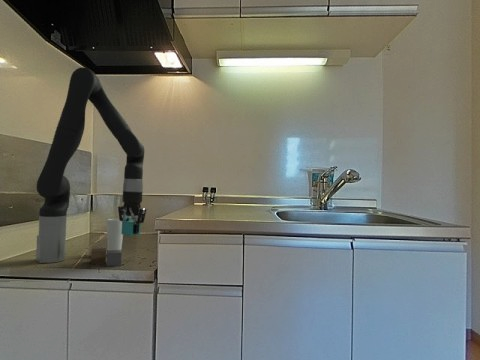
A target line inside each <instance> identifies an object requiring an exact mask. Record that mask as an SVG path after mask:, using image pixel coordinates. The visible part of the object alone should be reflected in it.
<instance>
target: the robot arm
mask: <svg viewBox="0 0 480 360" xmlns="http://www.w3.org/2000/svg"><path fill="white" fill-rule="evenodd" d="M88 101H90V103H91V104H92V105H93V106H94V108H95V109H96V110H97V112H98V113H99V116H100V118H101V119H102V121H103V123H104V124H105V126H106V127H107V128H108V130H109V131H110V133H111V134H112V136H113V137H114V138H115V139H116V141H117V142H118V143H119V145H120V147H121V149H122V150H123V152H124V153H125V154H126V165H125V166H124V172H123V173H124V175H123V183H122V200H121V201H122V202H123V203H124V204H123V205H121V206H118V207H117V210H118V211H117V212H118V219H119V220H120V221H131V220H132V221H133V222H134V225H133V234H138V233H139V225H140V224H141V225H142V224H144V223H145V218H146V214H147V208H143V207H142V205H141V203H142V202H143V194H144V193H143V192H144V191H143V190H144V182H143V174H144V173H143V171H144V169H143V165H144V161H145V160H144V159H145V147H144V145H143V144H142V142H141V141H140V140H139V139H138V138H137V136H136V135H135V134H134V133H133V131H132V129H131V127H130V126H129V124H128V123H127V121H126V120H125V119H124V117H123V116H122V115H121V113H120V112H119V111H118V109H117V108H116V107H115V106H114V105H113V103H112V102H111V100H110V99H109V97H108V95H107V94H106V91H105V90H104V88H103V85H102V83H101V82H100V78H99V77H98V76H97V75H96V73H94V71H92V70H91V69H90V68H87V67H84V66H82V67H78V68H76V69H75V70H73V72H72V73H71V76H70V79H69V85H68V90H67V95H66V99H65V103H64V105H63V108H62V111H61V114H60V117H59V120H58V123H57V126H56V128H55V131H54V136H53V138H52V142H51V146H50V147H49V152H48V155H47V158H46V161H45V163H44V166H43V167H42V170H41V171H40V174H39V176H38V179H37V180H36V181H37V182H36V191H37V194H39V196H40V197H42V198H43V199H44V202H43V205H42V206H41V207H40V208H39V212H38V217H39V218H38V234H37V235H36V253H35V261H37V262H38V263H39V264H48V263H49V264H51V263H58V262H62V261H64V260H66V237H67V212H68V209H69V207H70V196H71V195H70V194H71V184H70V182H69V179H68V178H67V176H65V170H66V167H67V165H68V163H69V161H70V160H71V158H72V157H73V156H74V154H75V153H76V152H77V150H78V149H79V147H80V145H81V142H82V138H83V135H84V131H85V126H86V124H85V123H86V108H87V105H88ZM138 235H139V234H138Z"/></svg>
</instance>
